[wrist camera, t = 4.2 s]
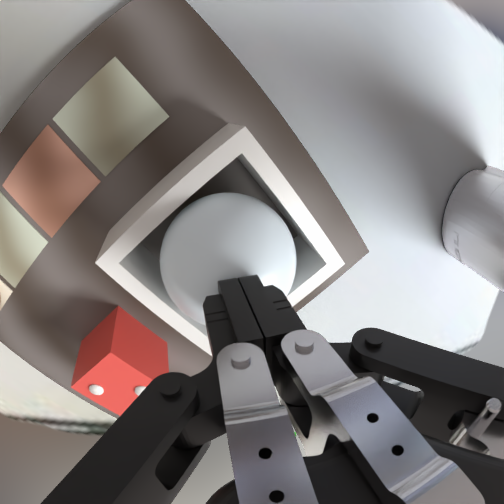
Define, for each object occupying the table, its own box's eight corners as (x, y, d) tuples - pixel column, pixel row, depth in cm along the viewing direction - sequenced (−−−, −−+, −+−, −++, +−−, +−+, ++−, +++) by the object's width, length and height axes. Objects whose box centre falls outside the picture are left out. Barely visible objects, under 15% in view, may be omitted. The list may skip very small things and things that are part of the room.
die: (118, 305, 18) (110, 353, 14) (167, 342, 20) (170, 391, 17) (81, 340, 19) (70, 388, 15) (128, 373, 21) (126, 420, 17)
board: (163, -12, 12) (163, -22, 11) (358, 243, 23) (369, 252, 21) (-60, 263, 15) (-70, 272, 13) (132, 413, 25) (132, 427, 24)
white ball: (226, 155, 16) (258, 180, 10) (292, 237, 19) (344, 293, 13) (137, 234, 16) (123, 298, 11) (212, 303, 19) (232, 378, 14)
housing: (228, 123, 16) (245, 126, 12) (314, 235, 20) (345, 263, 16) (109, 230, 16) (94, 262, 13) (209, 320, 21) (219, 361, 17)
